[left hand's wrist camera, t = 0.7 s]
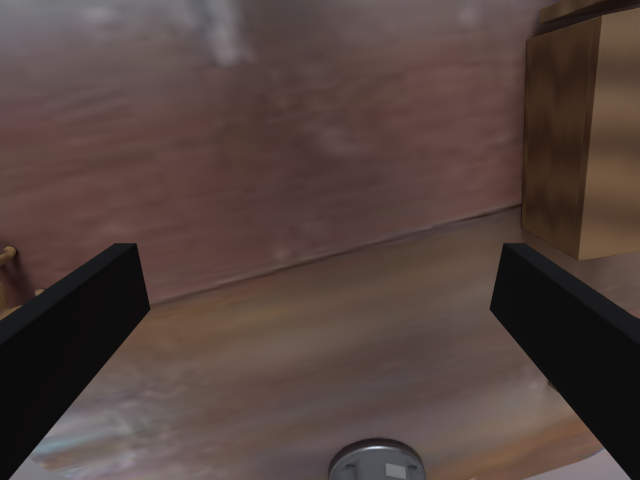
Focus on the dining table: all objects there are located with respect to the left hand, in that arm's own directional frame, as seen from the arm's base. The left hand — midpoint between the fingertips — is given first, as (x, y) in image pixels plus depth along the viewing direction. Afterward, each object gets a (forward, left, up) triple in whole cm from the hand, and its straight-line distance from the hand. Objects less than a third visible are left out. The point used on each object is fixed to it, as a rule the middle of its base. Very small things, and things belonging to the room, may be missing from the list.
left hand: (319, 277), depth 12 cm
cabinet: (+4, -27, -27) cm, 38 cm away
